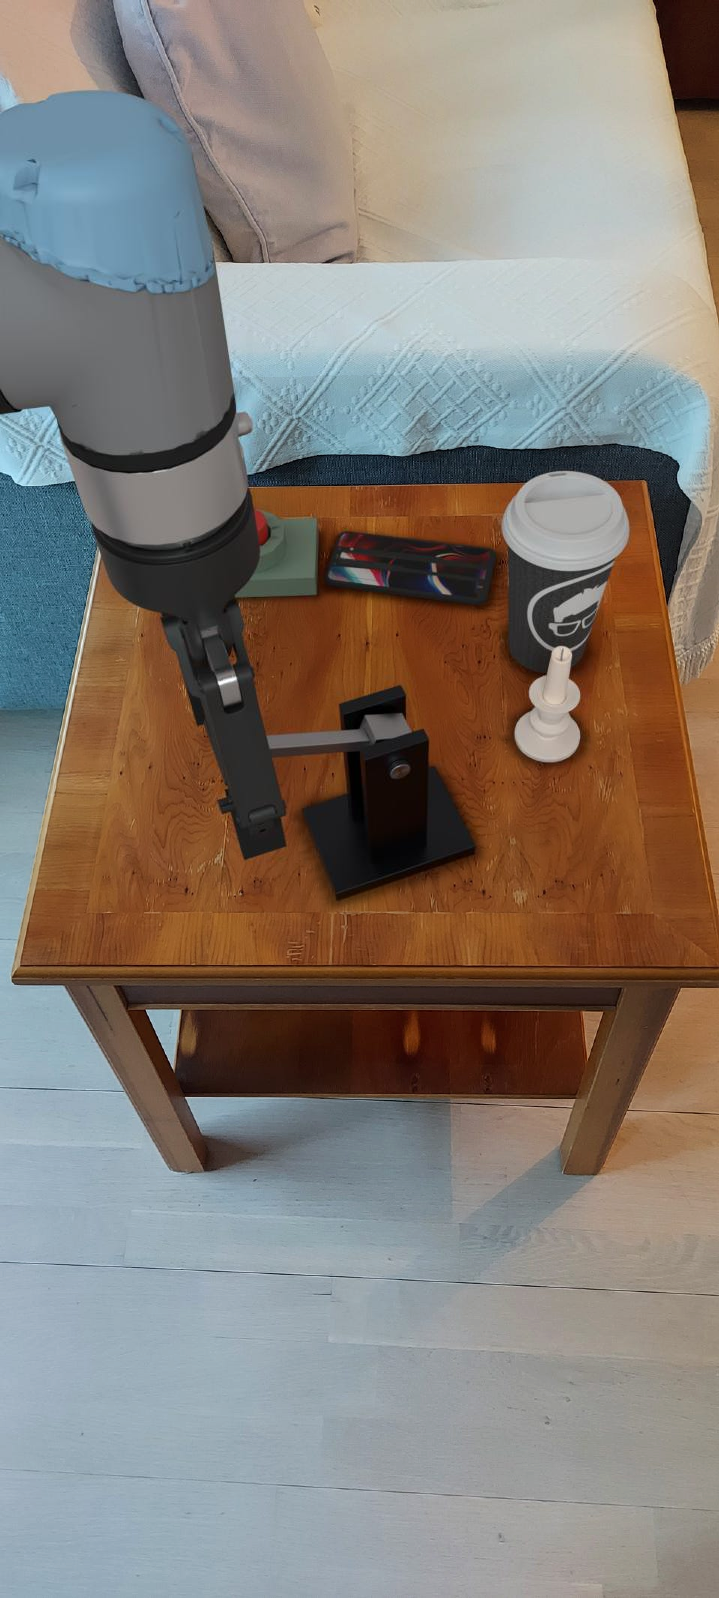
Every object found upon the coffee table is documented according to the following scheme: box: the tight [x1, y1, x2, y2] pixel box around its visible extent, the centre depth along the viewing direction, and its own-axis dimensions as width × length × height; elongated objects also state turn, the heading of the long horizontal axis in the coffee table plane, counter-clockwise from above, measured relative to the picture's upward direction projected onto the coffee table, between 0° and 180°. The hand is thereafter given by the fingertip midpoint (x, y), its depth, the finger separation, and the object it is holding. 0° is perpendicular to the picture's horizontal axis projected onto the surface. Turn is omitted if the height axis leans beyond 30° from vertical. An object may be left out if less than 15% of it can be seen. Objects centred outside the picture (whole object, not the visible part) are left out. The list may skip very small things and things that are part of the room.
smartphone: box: [324, 530, 497, 606], centre depth 92 cm, size 7×1×15 cm
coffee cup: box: [500, 470, 631, 674], centre depth 80 cm, size 10×10×15 cm
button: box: [254, 508, 268, 546], centre depth 90 cm, size 4×4×2 cm
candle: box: [513, 646, 581, 763], centre depth 76 cm, size 5×5×10 cm
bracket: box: [301, 684, 477, 902], centre depth 70 cm, size 11×8×14 cm
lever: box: [203, 713, 412, 787], centre depth 64 cm, size 13×5×2 cm, turn 110°
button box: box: [235, 509, 320, 599], centre depth 92 cm, size 12×8×4 cm, turn 90°
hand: (238, 779), depth 64 cm, fingers open, 10 cm apart
